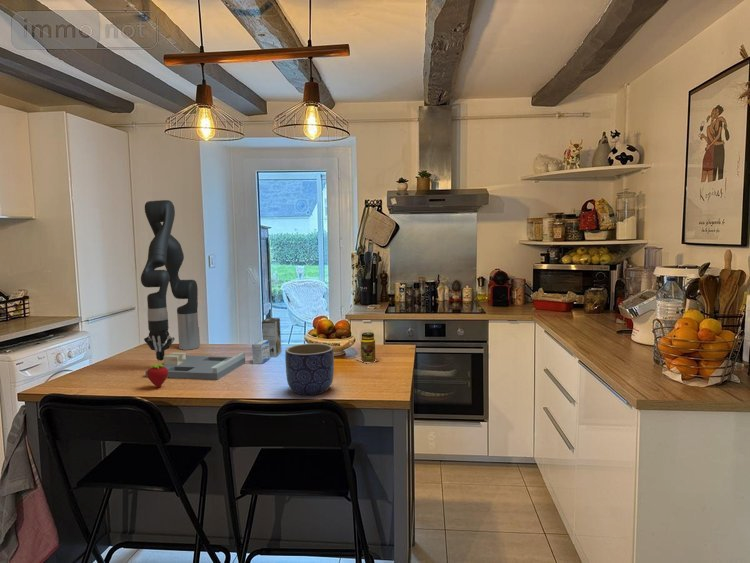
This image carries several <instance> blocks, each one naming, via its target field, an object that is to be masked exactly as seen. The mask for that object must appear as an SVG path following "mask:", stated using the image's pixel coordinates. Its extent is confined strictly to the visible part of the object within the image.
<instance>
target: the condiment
mask: <svg viewBox="0 0 750 563" xmlns="http://www.w3.org/2000/svg"><path fill="white" fill-rule="evenodd" d="M360 356H361V358H360V359H361V360H362V361H363V362H373V363H375V362H374V361H375V359H376V340H375V334H374V332H362V333H361V339H360Z"/></svg>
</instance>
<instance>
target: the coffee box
mask: <svg viewBox="0 0 750 563" xmlns="http://www.w3.org/2000/svg"><path fill="white" fill-rule="evenodd" d="M261 330H262V331H261V336H262V340H269V351H270V358H277V357H278V356H279V355H280V354H281V353H282V339H281V337H282V336H281V334H282V333H281V318H279V317H267V318H265V319H264V320H262V321H261Z"/></svg>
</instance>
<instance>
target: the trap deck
mask: <svg viewBox="0 0 750 563" xmlns="http://www.w3.org/2000/svg"><path fill="white" fill-rule="evenodd" d="M161 364H163V365H164V362H162V363H161ZM244 364H246V352H240V353H238V354H236V355H234V356H219V355H218V356H216V355H215V356H213V355H186V361H185V362H183V363H181V364H179V365H165V366H163V367H165V368H167V369H168V376H167V377H169V378H168V379H181V378H190V379H189V380H210V381H218V380H219V379H221V378H223V377H225V376H226V375H228V374H229V373H232V372H233V371H235V370H236V369H238V368H239V367H241V366H243V365H244ZM157 365H158V364H157ZM158 366H159V365H158ZM149 369H150V368H148V369H146V370H144V371H145V377H146V378H148V376H147V371H148V370H149Z"/></svg>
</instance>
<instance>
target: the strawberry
mask: <svg viewBox="0 0 750 563" xmlns="http://www.w3.org/2000/svg"><path fill="white" fill-rule="evenodd" d="M159 363H160V361H158V360H157V364H153V365H151V366H150V368H148V369H149V370H148V369H147V370H148V371H147V376H148V377H147V378H148V380H149V381H150V382H151V383H152V384H153V386H154V387H156V388H157V387H159V388H161V386H163V384H164V383H165V381H166V380H167V379H168V378H167V376H168V369H167V368H165V367H163V366H165V365H163V364H162V363H160V364H159ZM158 365H159V366H158Z"/></svg>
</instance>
